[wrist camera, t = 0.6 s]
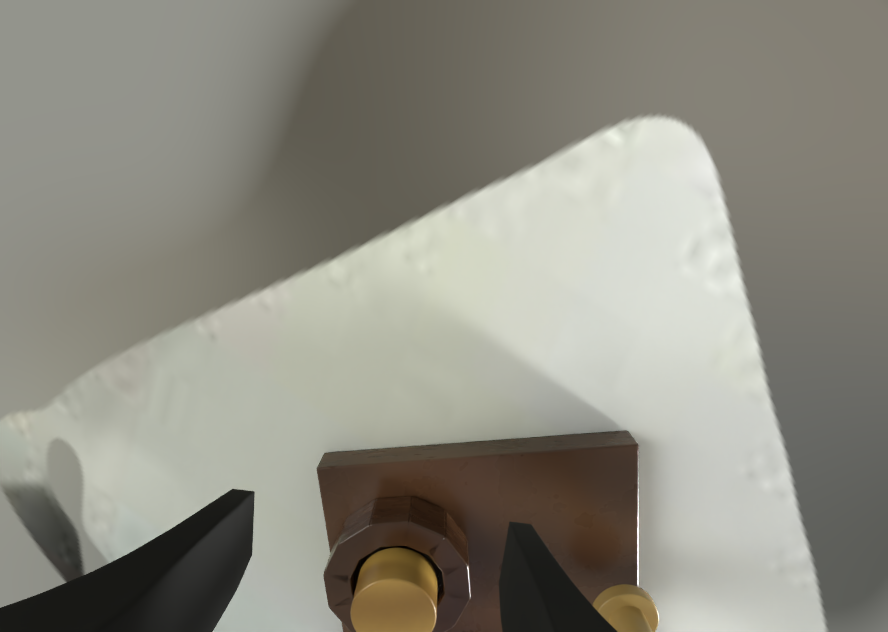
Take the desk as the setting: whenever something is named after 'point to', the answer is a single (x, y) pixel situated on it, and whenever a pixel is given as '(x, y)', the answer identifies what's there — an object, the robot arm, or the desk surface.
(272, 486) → the desk surface
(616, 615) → the lamp
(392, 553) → the lamp switch
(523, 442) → the lamp base
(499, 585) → the robot arm
